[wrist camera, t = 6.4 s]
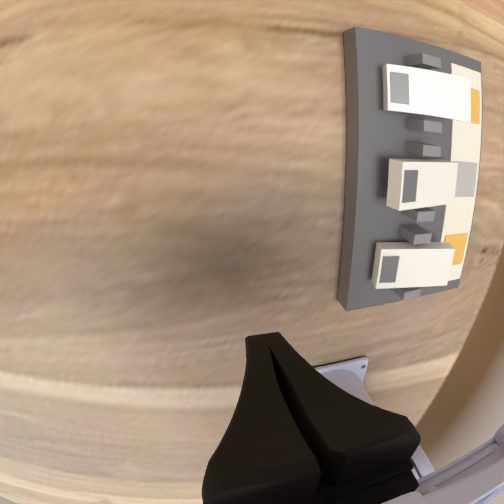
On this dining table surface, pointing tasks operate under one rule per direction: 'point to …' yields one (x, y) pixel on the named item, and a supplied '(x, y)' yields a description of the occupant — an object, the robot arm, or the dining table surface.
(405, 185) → the block
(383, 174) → the switch unit
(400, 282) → the rocker
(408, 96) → the block
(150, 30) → the dining table surface
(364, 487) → the robot arm
